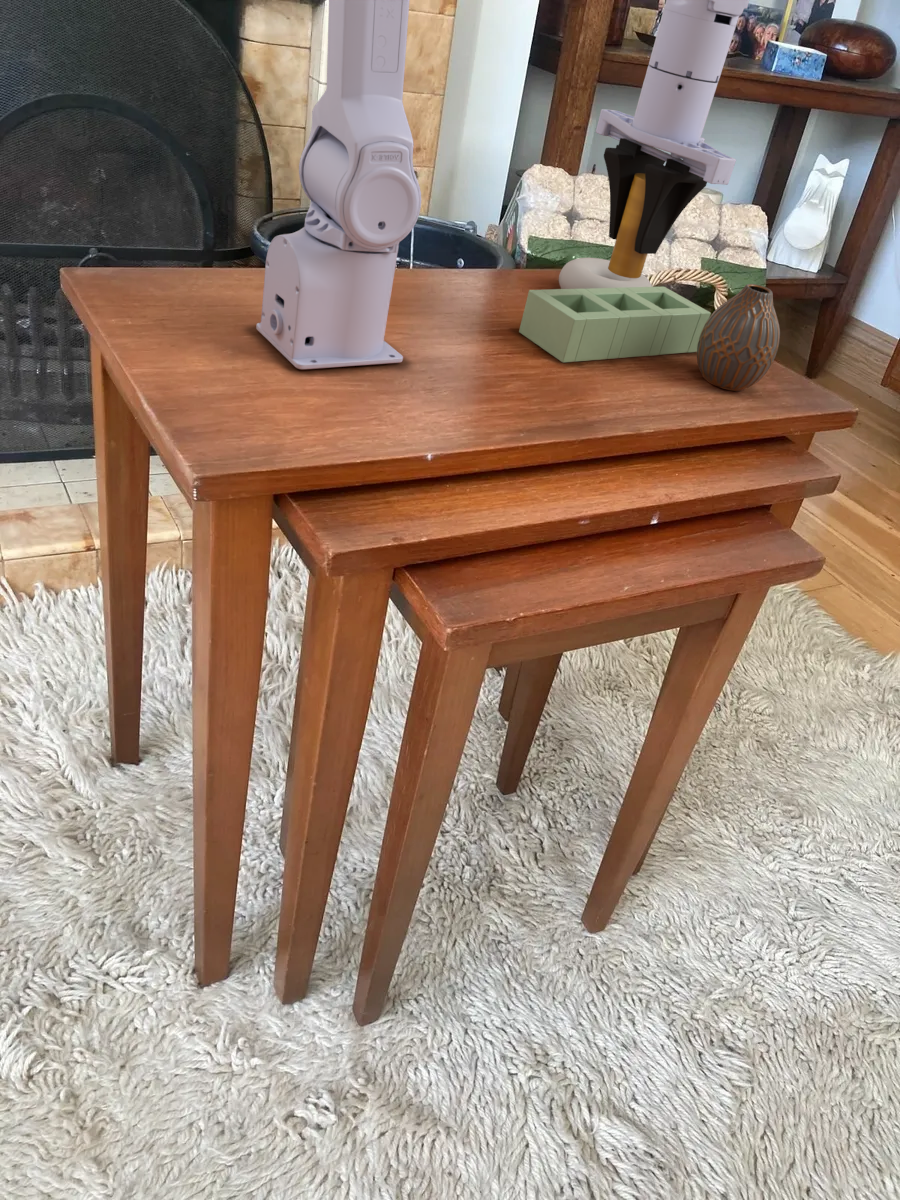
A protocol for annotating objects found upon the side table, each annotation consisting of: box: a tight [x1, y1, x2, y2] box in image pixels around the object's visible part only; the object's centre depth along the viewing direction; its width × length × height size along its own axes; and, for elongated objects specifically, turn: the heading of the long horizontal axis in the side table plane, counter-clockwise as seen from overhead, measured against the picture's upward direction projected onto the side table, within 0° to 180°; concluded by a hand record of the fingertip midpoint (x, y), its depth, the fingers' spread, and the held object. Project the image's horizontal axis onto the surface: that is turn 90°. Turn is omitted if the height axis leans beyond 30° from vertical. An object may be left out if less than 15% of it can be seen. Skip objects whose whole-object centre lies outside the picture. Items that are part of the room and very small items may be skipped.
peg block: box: [518, 286, 712, 364], centre depth 91 cm, size 17×7×4 cm, turn 123°
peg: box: [608, 173, 648, 278], centre depth 84 cm, size 3×3×8 cm
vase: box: [696, 283, 781, 392], centre depth 87 cm, size 7×7×9 cm
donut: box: [558, 257, 653, 289], centre depth 100 cm, size 10×4×10 cm
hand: (632, 245), depth 85 cm, fingers closed on peg, 3 cm apart
